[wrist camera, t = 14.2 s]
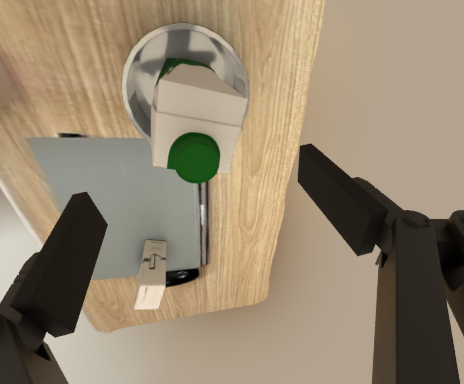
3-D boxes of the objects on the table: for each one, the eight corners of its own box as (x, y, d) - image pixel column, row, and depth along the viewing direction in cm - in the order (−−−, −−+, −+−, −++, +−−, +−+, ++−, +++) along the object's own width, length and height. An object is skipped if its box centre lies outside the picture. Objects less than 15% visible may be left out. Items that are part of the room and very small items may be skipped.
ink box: (160, 264, 58) (158, 310, 48) (139, 263, 56) (133, 311, 46) (167, 240, 53) (166, 286, 44) (144, 238, 52) (139, 285, 42)
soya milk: (155, 113, 36) (143, 182, 20) (160, 47, 31) (149, 70, 16) (210, 123, 39) (236, 190, 23) (222, 63, 34) (265, 97, 18)
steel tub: (110, 33, 30) (96, 34, 24) (231, 15, 32) (244, 13, 26) (151, 146, 40) (147, 166, 34) (241, 128, 41) (253, 144, 36)
